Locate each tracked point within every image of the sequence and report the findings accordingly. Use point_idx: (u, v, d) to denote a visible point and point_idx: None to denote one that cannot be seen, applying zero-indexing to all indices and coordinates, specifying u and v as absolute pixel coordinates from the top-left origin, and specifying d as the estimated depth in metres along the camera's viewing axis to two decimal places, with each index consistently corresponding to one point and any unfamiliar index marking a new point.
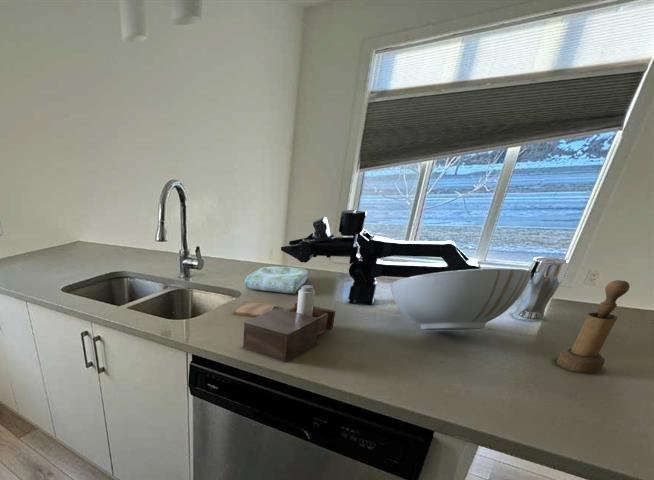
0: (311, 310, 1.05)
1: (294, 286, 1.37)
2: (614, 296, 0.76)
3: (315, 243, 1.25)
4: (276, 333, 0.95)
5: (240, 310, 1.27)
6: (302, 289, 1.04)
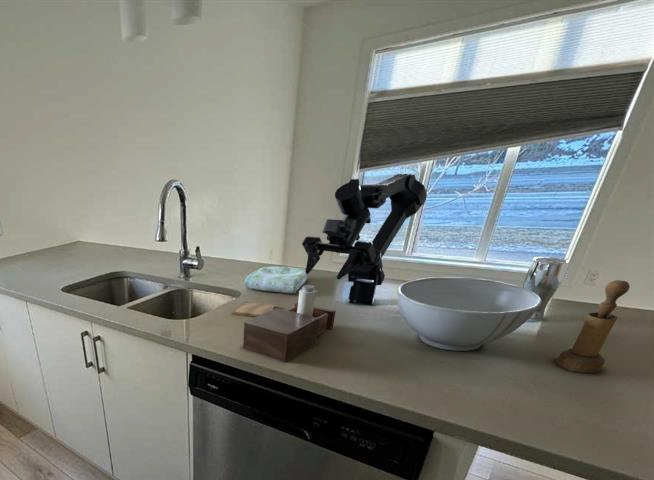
0: (311, 310, 1.05)
1: (294, 286, 1.37)
2: (614, 296, 0.76)
3: (347, 242, 1.05)
4: (276, 333, 0.95)
5: (240, 310, 1.27)
6: (303, 289, 1.04)
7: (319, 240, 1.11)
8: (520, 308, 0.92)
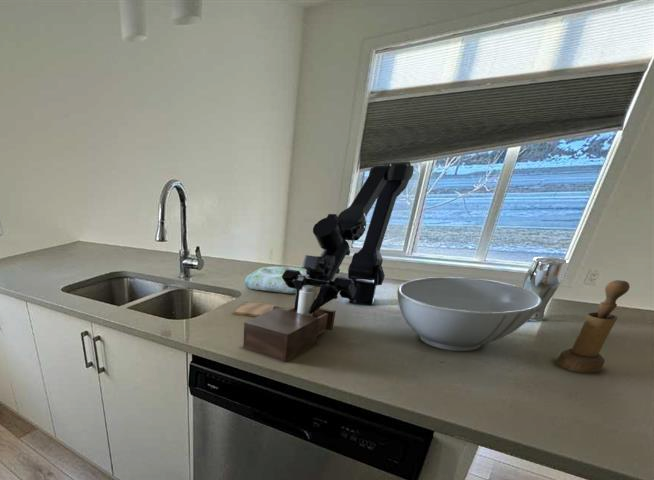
0: None
1: None
2: (614, 296, 0.76)
3: (327, 277, 1.03)
4: (276, 333, 0.95)
5: (240, 310, 1.27)
6: (303, 289, 1.04)
7: (299, 273, 1.09)
8: (520, 308, 0.92)
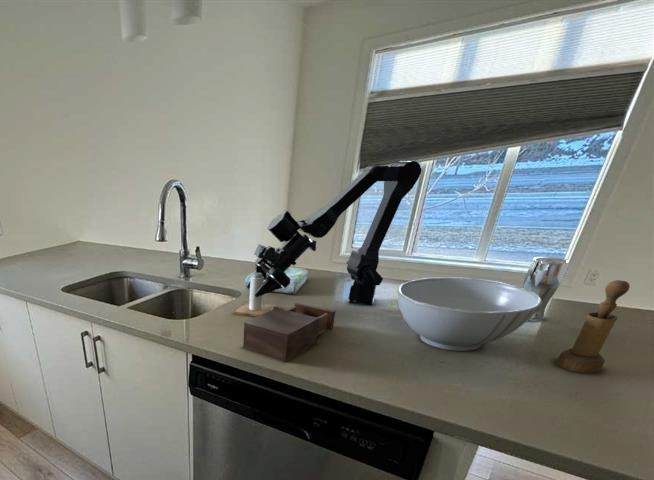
0: None
1: (294, 286, 1.37)
2: (614, 296, 0.76)
3: (275, 266, 1.19)
4: (276, 333, 0.95)
5: (240, 310, 1.27)
6: None
7: (266, 261, 1.26)
8: (520, 308, 0.92)
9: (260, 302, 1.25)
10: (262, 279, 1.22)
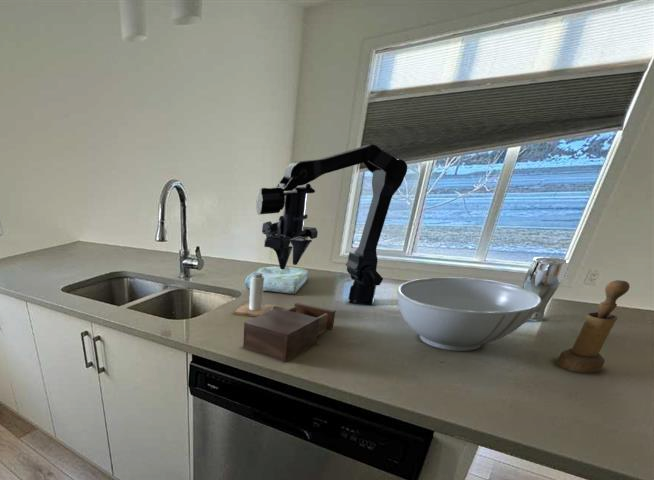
0: (257, 294, 1.24)
1: (294, 286, 1.37)
2: (614, 296, 0.76)
3: (282, 233, 1.16)
4: (276, 333, 0.95)
5: (240, 310, 1.27)
6: None
7: None
8: (520, 308, 0.92)
9: (260, 302, 1.25)
10: (262, 279, 1.22)
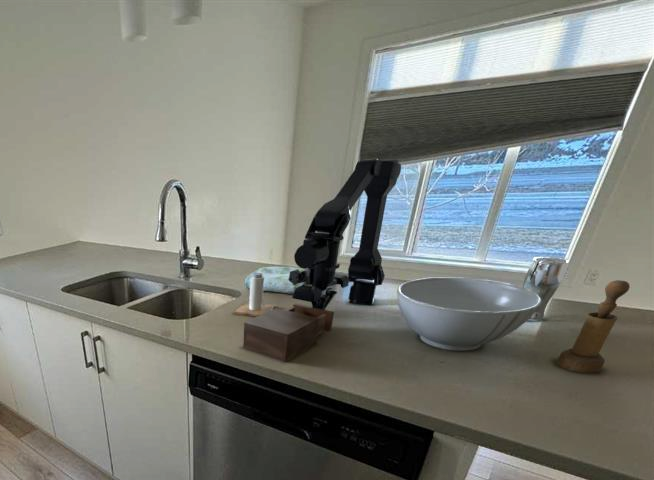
0: (257, 294, 1.24)
1: (294, 286, 1.37)
2: (614, 296, 0.76)
3: (312, 283, 1.07)
4: (276, 333, 0.95)
5: (240, 310, 1.27)
6: None
7: None
8: (520, 308, 0.92)
9: (260, 302, 1.25)
10: (262, 279, 1.22)
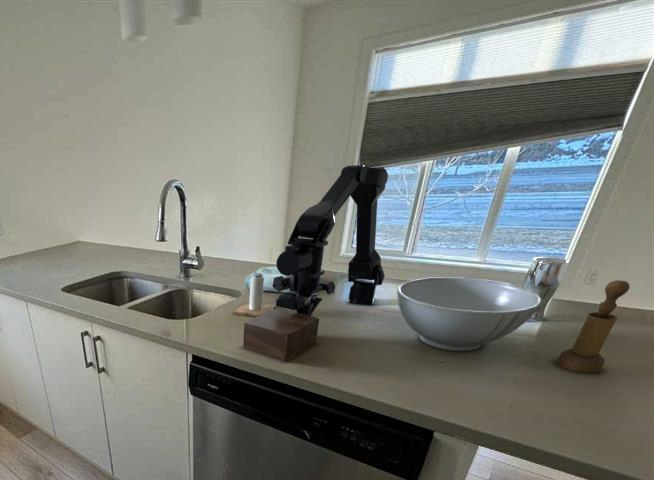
0: (257, 294, 1.24)
1: None
2: (614, 296, 0.76)
3: (296, 290, 1.03)
4: (276, 333, 0.95)
5: (240, 310, 1.27)
6: None
7: None
8: (520, 308, 0.92)
9: (260, 302, 1.25)
10: (262, 279, 1.22)
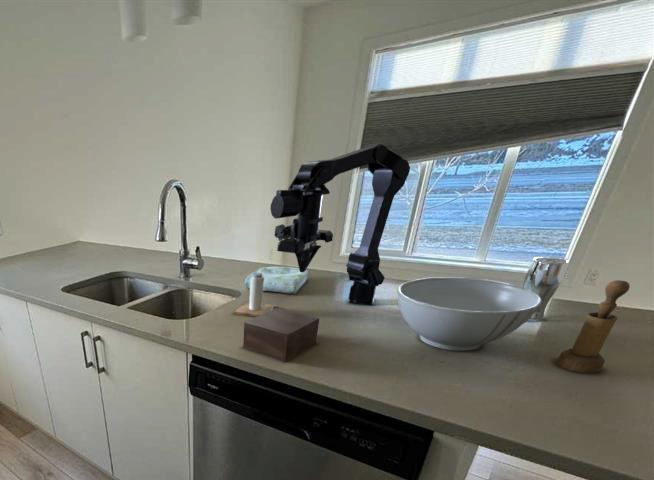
0: (257, 294, 1.24)
1: (294, 286, 1.37)
2: (614, 296, 0.76)
3: (296, 237, 1.11)
4: (276, 333, 0.95)
5: (240, 310, 1.27)
6: None
7: None
8: (520, 308, 0.92)
9: (260, 302, 1.25)
10: (262, 279, 1.22)
